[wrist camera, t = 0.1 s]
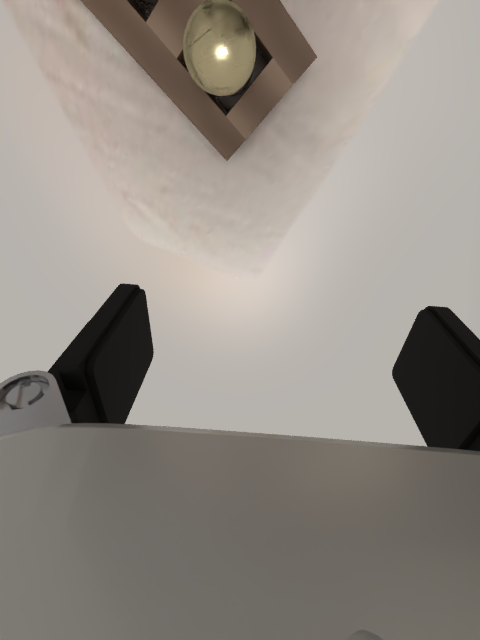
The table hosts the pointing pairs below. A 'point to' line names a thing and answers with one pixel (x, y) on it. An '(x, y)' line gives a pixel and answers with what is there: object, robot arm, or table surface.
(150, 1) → the knob mid
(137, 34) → the wooden spice rack
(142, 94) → the table surface
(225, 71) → the knob
